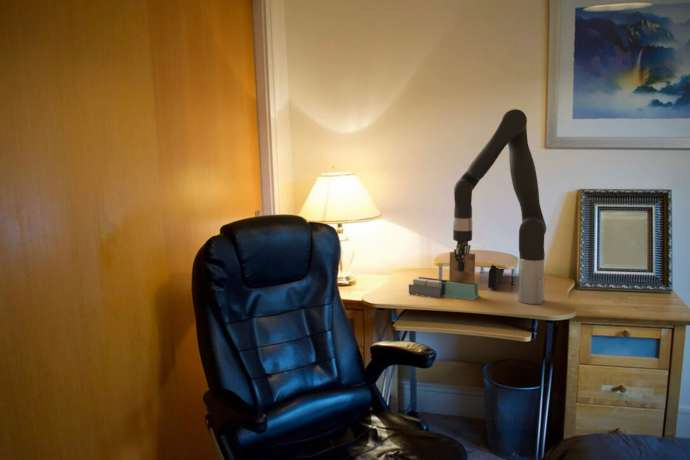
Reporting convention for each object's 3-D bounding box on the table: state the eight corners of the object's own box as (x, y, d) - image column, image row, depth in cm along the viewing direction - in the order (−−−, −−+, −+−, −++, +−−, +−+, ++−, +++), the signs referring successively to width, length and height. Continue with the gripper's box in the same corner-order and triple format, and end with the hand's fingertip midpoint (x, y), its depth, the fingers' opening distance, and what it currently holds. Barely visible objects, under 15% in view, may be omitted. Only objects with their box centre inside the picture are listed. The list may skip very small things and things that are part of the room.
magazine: (495, 271, 216) (504, 239, 242) (487, 271, 217) (496, 239, 243) (496, 307, 223) (504, 272, 249) (488, 306, 225) (497, 271, 250)
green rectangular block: (479, 295, 213) (479, 281, 212) (473, 300, 207) (473, 286, 206) (451, 292, 220) (451, 278, 219) (444, 296, 213) (444, 282, 212)
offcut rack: (449, 291, 221) (449, 280, 220) (440, 298, 211) (440, 286, 211) (419, 287, 228) (419, 276, 227) (408, 293, 219) (408, 282, 218)
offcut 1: (428, 290, 219) (428, 279, 218) (425, 292, 216) (425, 280, 216) (416, 289, 222) (416, 278, 221) (413, 291, 219) (413, 279, 219)
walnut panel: (474, 287, 211) (475, 254, 209) (472, 288, 209) (473, 254, 207) (450, 284, 216) (451, 251, 214) (449, 285, 214) (449, 252, 212)
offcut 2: (441, 292, 216) (441, 281, 215) (438, 294, 213) (438, 282, 213) (429, 291, 219) (429, 279, 218) (426, 292, 216) (426, 281, 215)
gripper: (466, 231, 201) (465, 275, 204) (477, 227, 213) (476, 268, 215) (447, 230, 205) (447, 273, 208) (459, 226, 217) (459, 266, 219)
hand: (462, 270), depth 212 cm, fingers closed on walnut panel, 2 cm apart
